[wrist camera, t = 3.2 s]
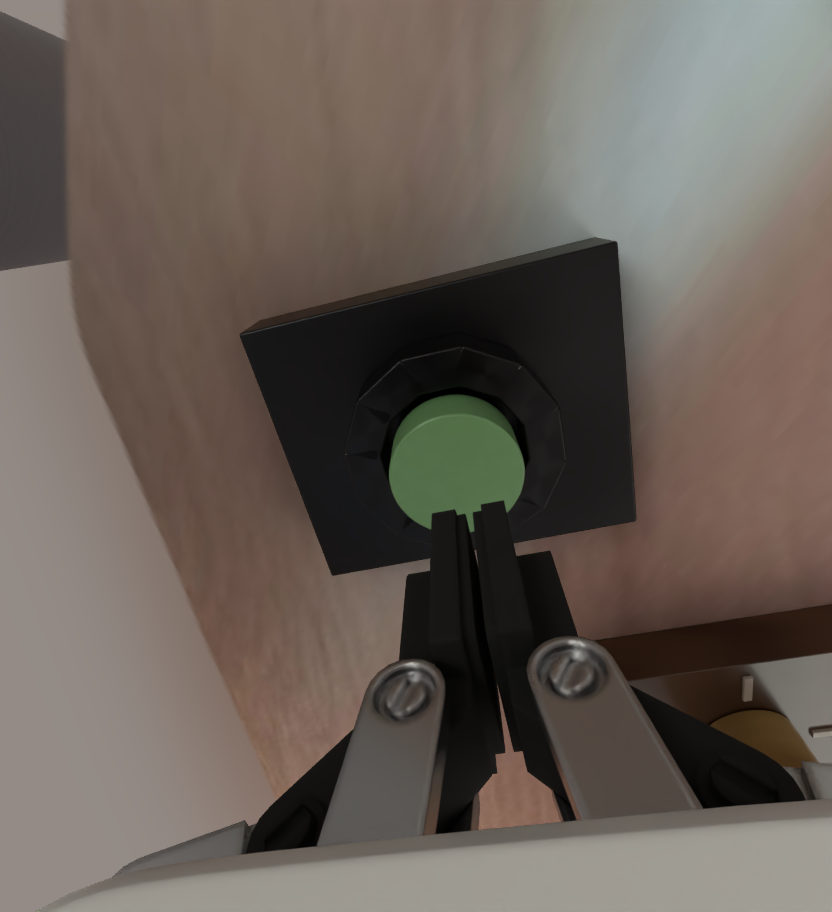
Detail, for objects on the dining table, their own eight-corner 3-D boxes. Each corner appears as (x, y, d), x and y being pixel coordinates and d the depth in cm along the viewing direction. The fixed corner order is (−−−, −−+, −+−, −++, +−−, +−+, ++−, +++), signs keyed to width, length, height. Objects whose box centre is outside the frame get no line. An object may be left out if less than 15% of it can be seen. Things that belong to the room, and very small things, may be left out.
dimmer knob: (695, 777, 25) (757, 910, 21) (694, 716, 23) (761, 847, 19) (791, 766, 25) (878, 900, 20) (798, 703, 23) (895, 833, 18)
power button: (409, 514, 18) (407, 544, 16) (378, 408, 16) (372, 430, 15) (524, 492, 17) (534, 521, 16) (505, 380, 16) (513, 400, 14)
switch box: (340, 544, 23) (323, 608, 19) (258, 320, 19) (217, 348, 15) (618, 492, 21) (656, 550, 18) (596, 236, 17) (640, 245, 14)
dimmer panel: (595, 773, 29) (610, 823, 27) (577, 643, 25) (592, 689, 23) (844, 742, 28) (883, 793, 25) (868, 598, 24) (918, 643, 21)
